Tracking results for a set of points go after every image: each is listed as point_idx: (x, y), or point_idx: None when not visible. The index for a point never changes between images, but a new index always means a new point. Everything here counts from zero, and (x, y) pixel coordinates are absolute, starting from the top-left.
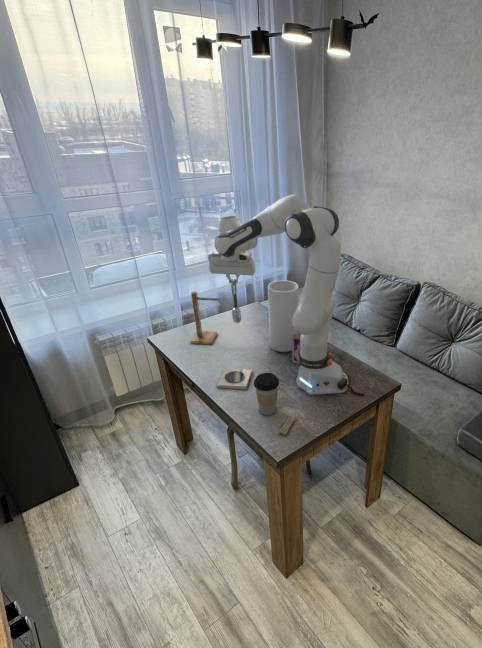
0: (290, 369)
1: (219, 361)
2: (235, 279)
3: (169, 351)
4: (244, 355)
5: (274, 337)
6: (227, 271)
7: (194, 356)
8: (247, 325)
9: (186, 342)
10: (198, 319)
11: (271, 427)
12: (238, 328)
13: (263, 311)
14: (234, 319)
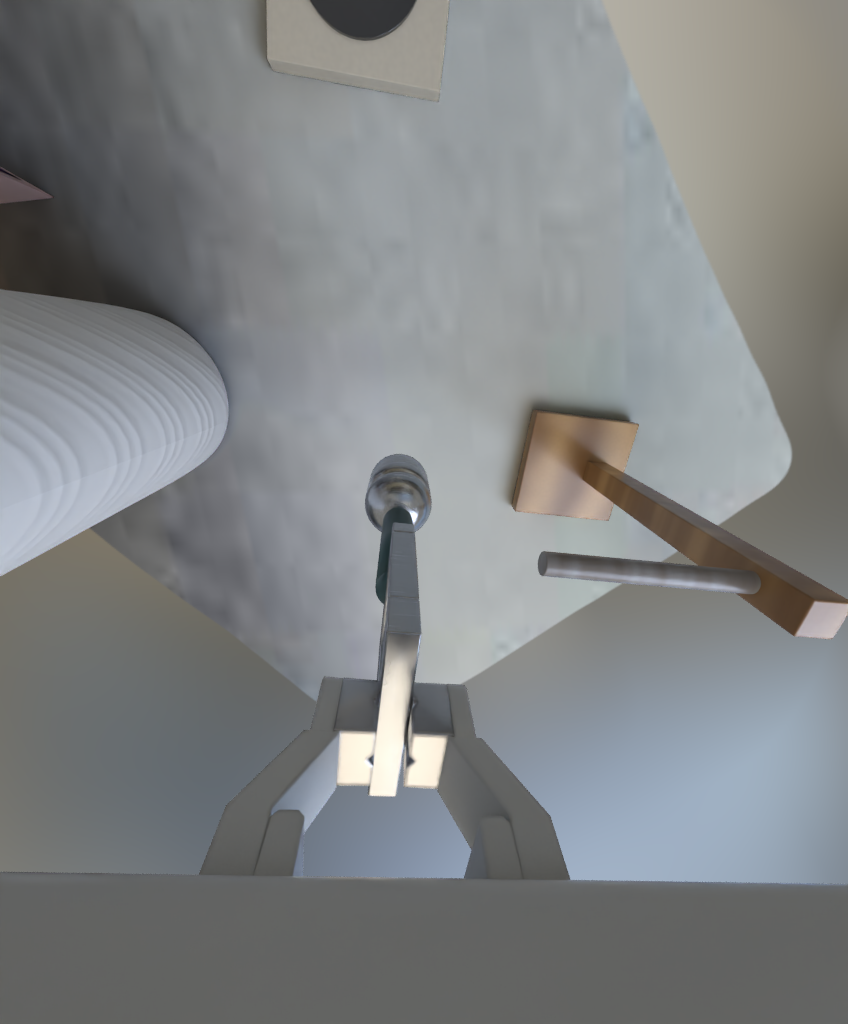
0: (38, 101)
1: (478, 225)
2: (346, 758)
3: (735, 343)
4: (349, 290)
5: (130, 323)
6: (550, 1018)
7: (613, 286)
8: None
9: (652, 431)
10: (645, 494)
11: None
12: None
13: None
14: (411, 460)
